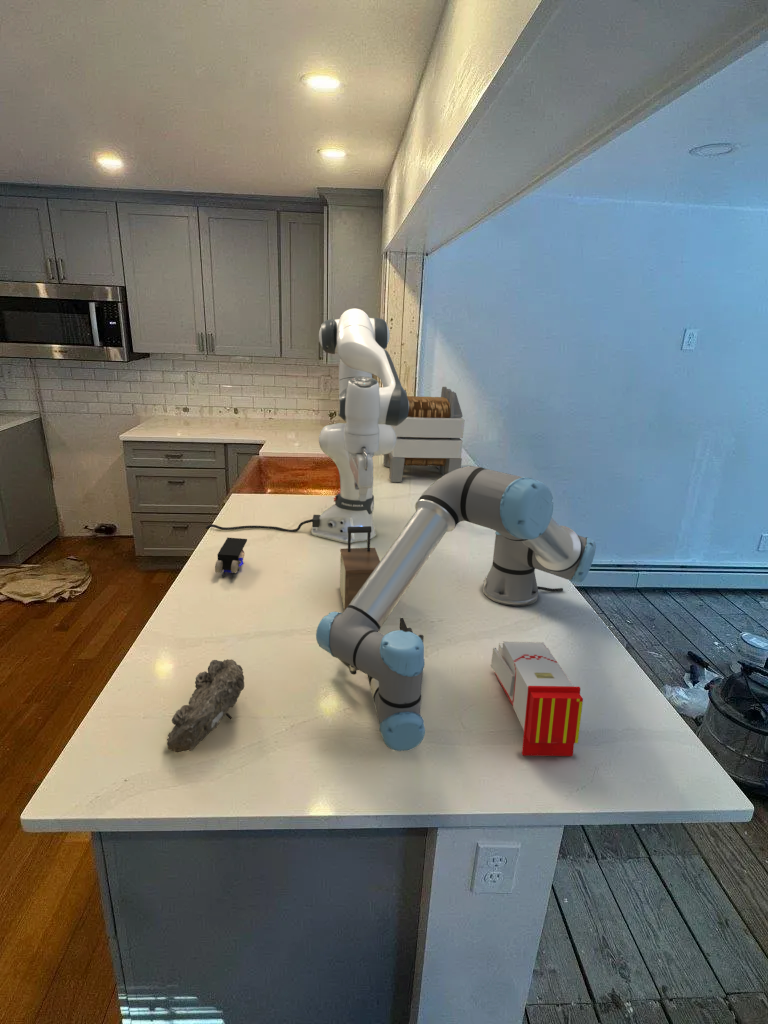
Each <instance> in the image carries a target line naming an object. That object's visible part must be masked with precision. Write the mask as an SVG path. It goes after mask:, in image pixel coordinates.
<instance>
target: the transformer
mask: <svg viewBox="0 0 768 1024" xmlns="http://www.w3.org/2000/svg"><path fill="white" fill-rule="evenodd" d="M404 391H405V392H406V394H408V393H407V390H406V389H404ZM440 393H441V394H440V396H415V395H414V396H413V395H412V396H411V395H407V397H408V401H409V412H408V417H407V418H406V419H405V420H404V421H403V422H402V423H400V424H399V425H398V426H392V425H390V426H391V427H392V428H393V429H394V431H395V433H396V438H397V440H396V445H395V448H394V449H393V451H392V452H391V453H388V454H384V455H383V466H384V467H388V468H389V475H388V476H389V477H388V478H389V480H390V482H391V483H402V482H403V475H404V469H405V466H406V467H407V466H411V467H412V466H413V467H415V466H416V467H417V466H418V467H436V468H437V470H438V469H439V473H440V474H441V475H442V477H443V476H444V475H446V474H447V473H449V472H451V471H454V470H456V469H459V468H462V461H463V460H462V453H463V442H464V441H463V440H462V439H463V438H464V431H465V430H464V429H465V419H464V418H463V411H462V408H461V405H460V402H459V398H458V395H457V392H455V391H453V390H452V389H451V388H447V386H442V387H441V392H440Z"/></svg>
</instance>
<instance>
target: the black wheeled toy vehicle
mask: <svg viewBox="0 0 768 1024" xmlns="http://www.w3.org/2000/svg"><path fill="white" fill-rule="evenodd" d="M247 542H248V538H240V537H226V539H225V541H224V543H223V544H222V546H221V547H220V549H219V551H218V552H217V560H216V562H215V564H214V572H215V573H221V577H222V578H224V577H225V576H226V574H227V573H230V574H231V573H232V574H231V578H234V577H235V575H236V573H237V572H239V571H240V567H242V566H243V565H244V564H245V562H244V558H245V551H244V547H245V546H246V544H247Z"/></svg>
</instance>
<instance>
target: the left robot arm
mask: <svg viewBox="0 0 768 1024" xmlns="http://www.w3.org/2000/svg"><path fill="white" fill-rule="evenodd" d="M390 333H391V332H390V328H389V326H388V323H387V322H386V320H385V319H383V318H380V317H369V315H368V314H367V313H366V312H365V311H364V310H362V309H360V308H349V309H346V310H345V311H344V312H342V314H341V315H340V317H339V318H336V319H334V318H330V319H326V320H324V321H323V322H322V323H321V325H320V328H319V331H318V341H319V344H320V346H321V348H322V350H323V351H324V352H325V353H327V354H330V355H335V354H338V356H339V364H338V365H339V366H338V391H339V392H338V393H339V394H338V400H339V410H338V415H337V416H338V417H339V418H340V419H342V420H343V421H344V422H337V423H332V424H328V425H325V426H324V427H322V429H321V430H320V432H319V435H318V444H319V447H320V450H321V451H322V452H323V454H325V455H326V456H327V457H329V458H330V459H331V460H332V462H333V463H334V464H335V466H336V467H337V470H338V474H339V483H340V484H339V485H340V488H339V489H340V490H339V491H338V492H337V494H336V495H335V496H334V497H333V502H334V504H333V505H331V506H329V507H328V508H326V509H325V510H323V512H321V514H313V515H312V518H311V519H307V520H304V521H301V522H300V523H299V524H298V526H297V528H294V529H288V528H283V527H279V526H271V525H240V526H229V527H227V526H226V527H223V526H220V525H217V524H208V525H207V526H205V528H204V529H205V530H208V529H210V528H215V529H218V530H220V531H235V530H244V529H265V530H277V531H281V532H287V533H288V532H289V533H296V532H298V531H300V530H301V528H302V526H303V525H306V524H309V523H311V527H312V528H311V530H310V533H311V536H315V537H319V538H323V539H326V540H330V541H336V542H339V543H343V544H348V531H347V528H348V527H355V526H371V533H370V540H372V539H373V538H375V537H376V535H377V532H376V528H375V523H374V513H373V512H374V509H375V496H374V460H373V457H380V456H384V454H388V453H391V452H392V451H393V449H394V448H395V445H396V440H397V438H396V433H395V431H394V429H393V428H392V427H391V426H390V425H392V426H398V425H399V424H400V423H402V422H403V421H404V420H405V419H406V418H407V417H408V412H409V401H408V397H407V396H408V395H407V394H408V393H407V391H406V392H405V391H404V390H405V389H404V388H403V386H402V383H401V380H400V377H399V375H398V373H397V369H396V367H395V365H394V363H393V359H392V357H391V356H390V353H389V352H388V351H387V350H386V349H387V347H388V344H389V343H390V342H389V341H390ZM373 375H374V376H376V377H378V378H379V379H380V382H381V384H382V387H380V385H379V381H378V380H377V379H375V378H374V377H373ZM406 393H407V394H406ZM367 536H368V533H351V544H352V543H357V542H365V541H367Z"/></svg>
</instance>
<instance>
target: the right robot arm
mask: <svg viewBox="0 0 768 1024" xmlns="http://www.w3.org/2000/svg"><path fill="white" fill-rule="evenodd" d="M443 475H444V474H443ZM443 475H442V476H441V477H439V478H438V479H436V480H435V481H434V482H432V484H430V486H428V488H426V489H425V490H424V491H423V493H422V494H421V496H419V498H418V499H417V501H416V502H415V504H414V509H415V511H414V513H413V515H412V516H411V517H410V518H409V521H407V523H406V524H405V526H404V527H403V529H402V530H401V531H400V533H399V534H398V535H397V537H396V539H394V541H393V543H392V544H391V545H390V547H389V548H388V549H387V551H386V552H385V554H384V555H383V556H382V558H381V559H380V562H379V564H378V565H377V566H376V568H375V569H374V571H373V572H372V573H371V575H370V576H369V578H368V579H367V580H366V582H365V583H364V585H363V586H362V587H361V589H360V590H359V591H358V593H357V594H356V596H355V597H354V598H353V600H352V601H351V603H350V604H349V605H348V606H347V608H346V609H345V611H344V610H343V612H340V611H339V612H338V611H330V612H329V613H328V614H326V615H324V616H323V617H322V618H321V619H320V622H319V623H318V625H317V627H316V632H315V639H316V643H317V645H318V647H320V648H321V649H322V650H324V651H325V652H327V653H328V654H330V655H331V657H333V658H336V659H338V660H339V661H340V662H341V663H342V664H344V665H345V667H347V668H348V670H349V673H350V674H351V675H357V671H359V672H361V673H364V674H366V676H367V679H368V684H369V687H370V692H371V696H372V701H373V703H374V708H375V711H376V712H375V713H376V717H377V721H378V725H379V727H378V729H379V732H380V735H381V737H382V740H383V742H384V744H385V745H386V747H388V748H389V749H390V750H393V751H395V752H406V751H407V752H408V751H410V750H413V749H415V748H417V747H418V746H419V745H420V744H421V743H422V742H423V741H424V738H425V734H426V727H425V724H424V723H425V719H424V718H423V716H422V714H421V713H422V712H421V707H422V689H423V677H424V668H425V665H426V664H425V645H424V635H423V634H418V635H417V634H416V633H414V631H413V629H412V628H411V627H408V626H407V624H406V622H405V618H404V617H399V626H398V627H399V629H397V630H392V631H389V632H387V633H386V634H383V633H382V632H379V631H381V628H382V627H383V625H384V624H385V622H386V621H387V620H388V618H389V617H390V615H391V614H392V612H393V610H394V609H395V608H396V606H397V605H398V603H399V602H400V601H401V599H402V597H403V596H404V594H405V592H406V591H408V589H409V587H410V586H411V584H412V583H413V582H414V580H415V578H416V577H417V576H418V574H419V573H420V571H421V569H422V568H423V567H424V565H425V564H426V563H427V561H428V559H429V558H430V557H431V555H432V553H433V552H434V550H435V549H436V548H437V546H438V545H439V543H440V542H441V540H442V539H443V537H444V536H445V534H446V533H449V532H452V531H454V530H455V529H456V527H457V525H458V524H459V523H461V522H467V523H470V524H473V525H476V526H480V527H483V528H487V529H490V530H493V531H495V533H494V534H495V537H494V538H495V539H494V546H493V547H494V548H493V556H492V564H491V567H490V569H489V572H488V574H487V575H486V576H485V577H484V579H483V585H482V592H483V594H484V595H485V597H487V598H488V599H489V600H491V601H493V602H495V603H496V604H497V603H498V604H501V605H505V606H510V607H526V606H529V605H532V604H534V603H536V602H537V600H538V596H539V591H546V592H553V593H554V592H563V591H564V588H563V587H559V588H556V587H555V588H550V587H545V586H539V585H538V583H537V578H536V572H535V571H536V570H539V571H541V572H544V573H547V574H551V575H553V576H556V577H559V578H562V579H565V580H568V581H569V582H575V583H583V582H584V581H585V579H586V578H587V576H588V574H589V572H590V570H591V567H592V564H593V563H594V562H593V561H594V559H595V554H596V549H597V545H596V544H597V543H596V541H595V540H594V539H592V538H590V537H588V536H586V537H585V536H583V535H582V536H581V535H579V534H577V532H576V531H574V530H573V529H571V528H570V527H568V526H566V525H560V524H559V523H558V522H557V521H556V520H555V519H554V518H553V513H554V502H553V499H554V497H553V493H552V490H551V489H550V488H549V486H548V485H547V484H546V483H544V482H542V481H539V480H537V479H535V478H533V477H527V476H525V477H524V476H520V475H515V474H511V473H507V472H502V471H497V470H493V469H489V468H484V467H481V466H476V465H468V466H461V468H459V469H456V470H454V471H451V472H449V473H447V474H446V475H444V476H443Z"/></svg>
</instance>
